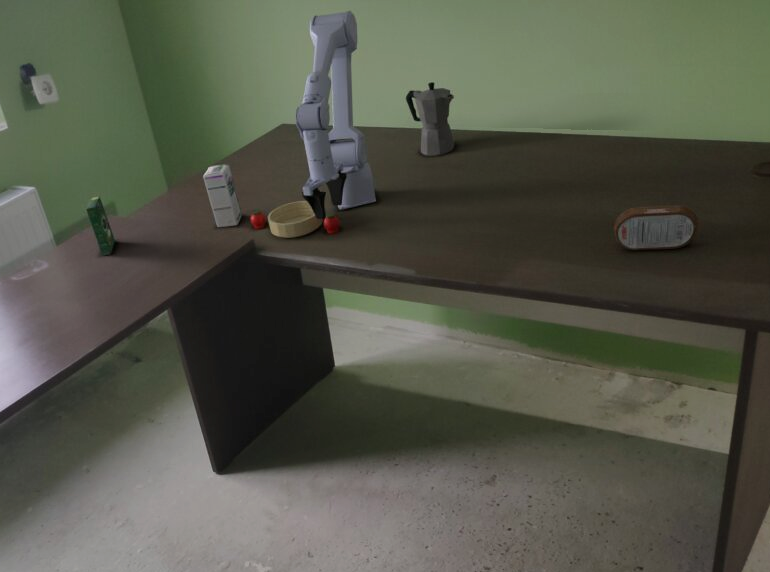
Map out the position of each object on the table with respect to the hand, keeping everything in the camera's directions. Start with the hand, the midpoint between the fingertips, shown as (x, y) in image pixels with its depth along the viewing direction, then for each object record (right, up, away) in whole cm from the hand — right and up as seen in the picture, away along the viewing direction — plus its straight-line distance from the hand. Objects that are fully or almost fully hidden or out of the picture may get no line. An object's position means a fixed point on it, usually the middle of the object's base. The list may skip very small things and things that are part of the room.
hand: (329, 211), depth 206 cm
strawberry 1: (-17, 0, +14) cm, 22 cm away
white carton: (-25, +2, +21) cm, 32 cm away
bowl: (-7, -2, +9) cm, 12 cm away
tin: (+62, -16, -34) cm, 73 cm away
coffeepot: (+31, +25, +31) cm, 50 cm away
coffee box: (-57, -4, +24) cm, 62 cm away
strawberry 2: (+1, -4, +3) cm, 5 cm away
